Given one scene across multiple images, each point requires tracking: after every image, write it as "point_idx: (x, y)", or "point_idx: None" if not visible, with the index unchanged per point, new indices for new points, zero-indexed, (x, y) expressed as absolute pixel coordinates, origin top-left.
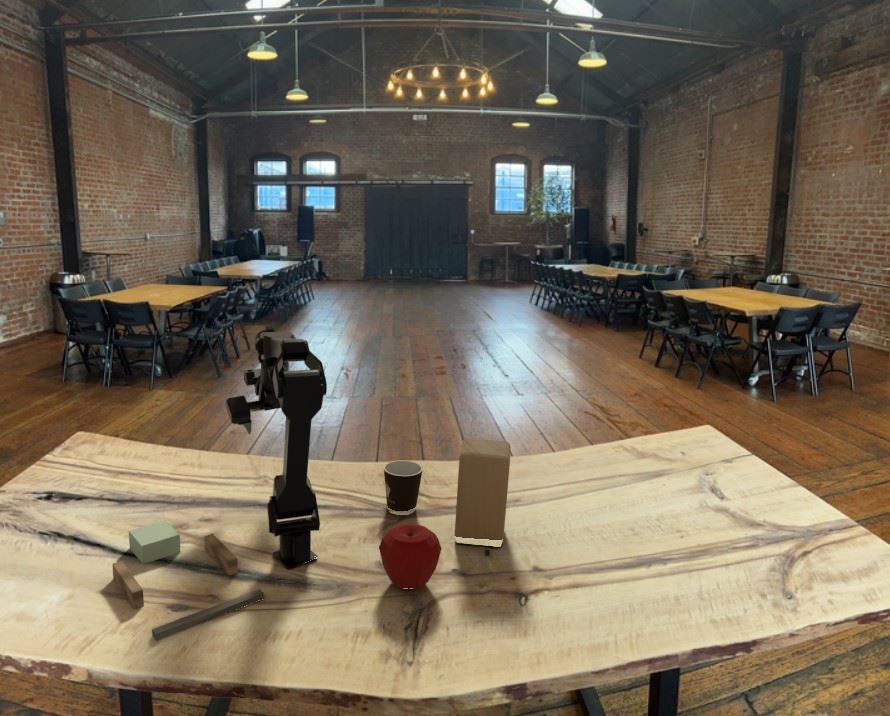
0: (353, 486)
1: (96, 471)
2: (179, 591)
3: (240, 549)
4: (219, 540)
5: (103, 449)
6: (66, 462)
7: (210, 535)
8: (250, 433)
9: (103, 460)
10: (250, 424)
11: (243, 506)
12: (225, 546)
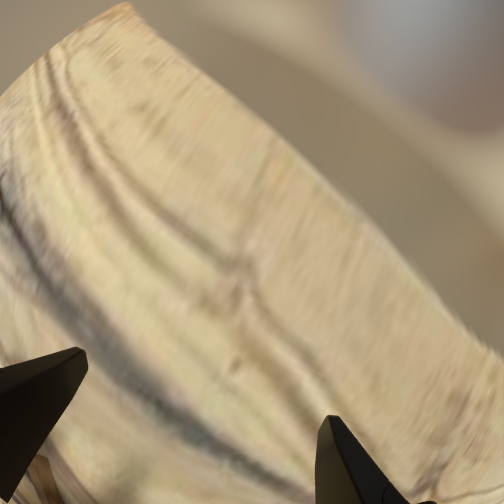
0: (385, 429)
1: (47, 91)
2: None
3: (79, 490)
4: (42, 486)
5: (102, 34)
6: (52, 59)
7: (32, 468)
8: (82, 378)
9: (76, 61)
10: (15, 479)
11: (125, 386)
12: (48, 502)
